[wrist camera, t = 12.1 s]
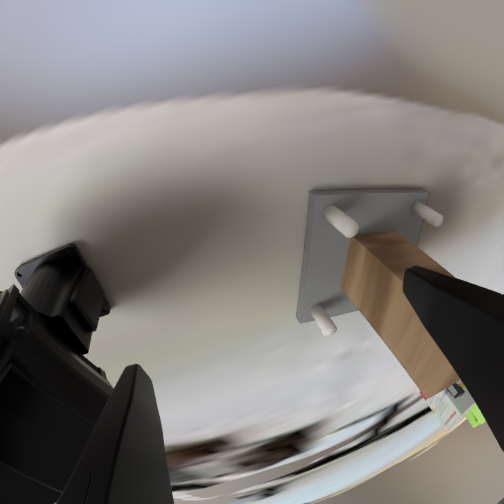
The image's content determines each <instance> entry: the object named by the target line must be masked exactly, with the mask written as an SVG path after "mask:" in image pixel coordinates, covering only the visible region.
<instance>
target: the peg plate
mask: <svg viewBox="0 0 504 504" xmlns="http://www.w3.org/2000/svg"><path fill="white" fill-rule="evenodd" d="M428 196H429V193H428V192H427V191H425V190H423V189H356V190H324V191H309V202H308V214H307V225H306V236H305V246H304V255H303V264H302V273H301V282H300V290H299V298H298V306H297V314H296V317H297V319H298V321H299V323H305V322H310V321H314V320H315V321H316V323H317V324H318V326H319V327H320V329H321V331H322V332H323V334H324V335H325V336H327V337H328V336H331V335H333V334H334V333H335V332H336V330H337V327H336V326H335V324H334V323H333V321H332V320H331V318H330V317H332V316H337V315H341V314H345V313H349V312H353V311H357V310H359V309H358V308H357V307H356V306H355V304H354V303H353V302H352V301H351V300H350V298H349V297H348V296H347V295H346V293H345V292H344V291H343V290H342V288H341V287H340V282H341V278H342V273H343V269H344V264H345V260H346V255H347V250H348V245H349V240H350V238H351V237H353V236H355V235H356V234H366V233H379V232H392V231H396V232H398V233H399V234H400V235H402V236H403V237H404V238H406V239H407V240H408V241H410V242H411V243H412V244H414V245H415V246H417V243H418V239H419V235H420V231H421V227H422V223H423V220H425V221H427V222H428V223H430V224H431V225H433V226H434V227H436V228H438V227H440V226H441V224H442V222H443V215H441V214H440V213H438V212H436V211H435V210H433V209H431V208H429V207H428V206H427V201H428Z"/></svg>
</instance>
